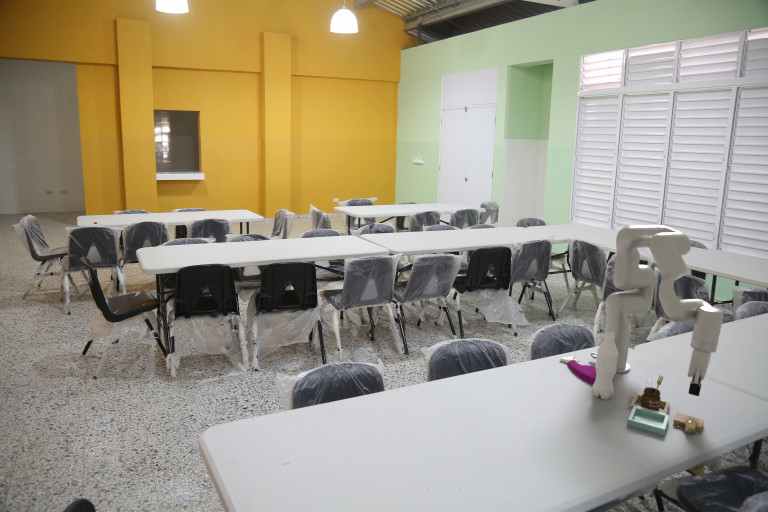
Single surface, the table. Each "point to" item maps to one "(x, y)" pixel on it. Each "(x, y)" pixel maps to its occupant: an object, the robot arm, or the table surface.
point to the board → (681, 419)
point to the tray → (648, 421)
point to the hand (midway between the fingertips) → (693, 394)
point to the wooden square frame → (662, 403)
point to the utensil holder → (651, 396)
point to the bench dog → (689, 427)
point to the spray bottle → (581, 369)
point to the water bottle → (606, 366)
